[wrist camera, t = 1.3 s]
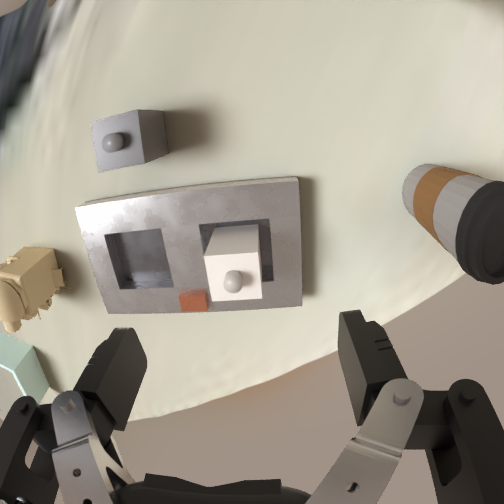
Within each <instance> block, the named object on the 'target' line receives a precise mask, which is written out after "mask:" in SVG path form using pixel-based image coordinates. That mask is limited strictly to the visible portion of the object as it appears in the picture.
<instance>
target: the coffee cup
mask: <svg viewBox="0 0 504 504" xmlns="http://www.w3.org/2000/svg"><path fill="white" fill-rule="evenodd" d="M402 194H403V202H404V204H405V207H406V209H407V210H408V211H409V213H410V214H411V215H412V216H413V217H414V218H416V219H417V221H418V222H419V223H420V224H421V225H422V226H423V227H424V228H425V229H426V230H427V231H428V232H429V233H430V234H431V235H432V236H433V237H434V238H435V239H436V240H437V241H438V242H439V243H440V244H441V245H442V246H443V247H444V248H445V249H446V250H447V251H448V252H449V253H451V254H452V255H453V256H454V258H455V259H456V260H457V261H458V263H459V264H460V266H461V268H462V270H463V271H465V272H466V273H467V274H468V275H470V276H472V277H473V278H475V279H476V280H477V281H481V282H486V283H489V284H500V283H502V282H504V182H501V181H491V180H488V179H484V178H482V177H480V176H478V175H474V174H470V173H466V172H463V171H459V170H455V169H450V168H446V167H439V166H434V165H428V164H424V165H420V166H418V167H416V168H415V169H413V170H412V171H411V172H410V173H409V174H408V176H407V177H406V179H405V181H404V185H403V192H402Z"/></svg>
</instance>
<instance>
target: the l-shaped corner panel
mask: <svg viewBox="0 0 504 504" xmlns="http://www.w3.org/2000/svg"><path fill="white" fill-rule="evenodd" d="M0 367H2V368H4V369H6V370H8V371H10V372H12V374H13V376H14V378H15V380H16V382H17V383H18V385H19V387H20V389H21V391H22V393H23V394H24V396H31V397H33V398H34V399H35V400H36V402H37V403H38V404H40V402H41V400H42V399H43V397H44V395H45V393H46V392H47V390H48V388H49V387H50V385H49V383H48V381H47V379H46V377H45V374H44V372H43V370H42V367H41V365H40V362H39V360H38V357H37V355H36V352H35V350H34V347H33V345H31V344H28V343H26V342H23V341H21V340H19V339H16V338H14V337H11V336H9V335H7V334H5V333H2V332H0Z"/></svg>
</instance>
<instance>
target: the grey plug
mask: <svg viewBox="0 0 504 504" xmlns="http://www.w3.org/2000/svg"><path fill="white" fill-rule="evenodd" d="M91 130H92V137H93V144H94V150H95V156H96V162H97V168H98V173H99V172H104V171H109V170H114V169H119V168H124V167H129V166H134V165H139V164H145V163H147V162H150V161H152V160H154V159H157V158H159V157H161V156H164V155H166V154H169V153H168V146H167V138H166V130H165V122H164V114H163V111H158V110H134V111H130V112H126V113H122V114H118V115H114V116H110V117H107V118H103V119H100V120H96V121H93V122H91Z"/></svg>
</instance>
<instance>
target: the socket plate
mask: <svg viewBox="0 0 504 504" xmlns="http://www.w3.org/2000/svg"><path fill="white" fill-rule="evenodd" d="M75 209H76V213H77V217H78V221H79V225H80V229H81V232H82V236H83V240H84V243H85V246H86V250H87V253H88V257H89V260H90V263H91V266H92V269H93V272H94V275H95V278H96V281H97V284H98V287H99V290H100V293H101V296H102V298H103V301H104V304H105V306H106V309H107V312H108V314H150V313H192V312H217V311H237V310H254V309H269V308H283V307H296V306H302V251H301V220H300V197H299V181H298V179H297V178H296V176H291V177H276V178H262V179H250V180H239V181H228V182H219V183H209V184H200V185H192V186H184V187H176V188H168V189H161V190H154V191H147V192H140V193H134V194H127V195H121V196H115V197H109V198H104V199H98V200H93V201H87V202H85V203H83V204H81V205H80V206H78V207H76V208H75ZM254 224H258V227H259V238H260V249H261V260H262V299H247V300H230V301H212V298H211V293H210V288H209V282H208V277H207V271H206V266H205V260H204V255H205V252H206V249H207V247H208V244H209V241H210V239H211V236H212V234H213V231H214V229H215V228H218V227H229V226H241V225H254Z"/></svg>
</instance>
